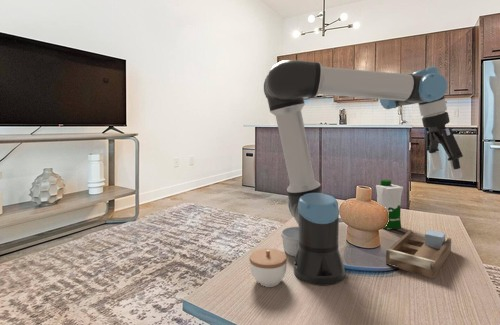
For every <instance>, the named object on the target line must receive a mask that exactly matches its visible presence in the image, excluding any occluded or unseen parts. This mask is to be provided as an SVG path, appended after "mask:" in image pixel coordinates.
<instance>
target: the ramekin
mask: <svg viewBox="0 0 500 325" xmlns="http://www.w3.org/2000/svg"><path fill="white" fill-rule="evenodd" d="M280 234H281V235H280V236H281V240H282V248H283V250H284V253H285V254H286V255H287V254H288V255H289V256H292V257H296V254H297V251H298V248H299V226H289V227H286V228H284V229H282V230H281V232H280Z"/></svg>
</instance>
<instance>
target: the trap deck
mask: <svg viewBox="0 0 500 325" xmlns="http://www.w3.org/2000/svg"><path fill="white" fill-rule="evenodd" d="M385 251H386V254H385V255H386V256H385V261H386V262H385V264H386V263H387V264H391V265H395V266H398V268H397V269H399V270H403V271H406V272H409V273H413V274H416V275H419V276H422V277H427V278H430V279H435V277H436V276H437V275H438V273H439V271H440V270H441V268H442V266H443V265H444V263H445V261H446V260H447V259H448V257H449V255H450V253H451V251H452V238H450V237H447V239H445V243H444V244H443V246H442V247H441V248H440V249H439V248H434V247H430V246H426V245H425V237H419V236H414V235H413V230H410V229H409V230H408V231H407V232H405V234H403V235H402V236H401V237H400V238H399V239H398V240H397V241H396V242H395V243H394V244H392V245H391V246H390V247H389V248H386V250H385Z"/></svg>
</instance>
